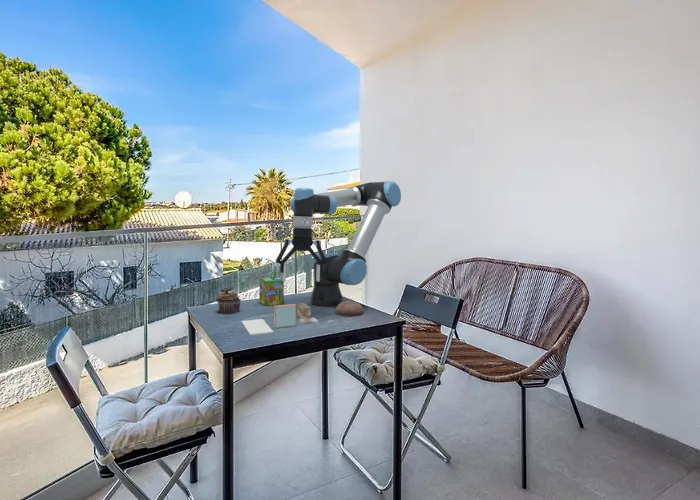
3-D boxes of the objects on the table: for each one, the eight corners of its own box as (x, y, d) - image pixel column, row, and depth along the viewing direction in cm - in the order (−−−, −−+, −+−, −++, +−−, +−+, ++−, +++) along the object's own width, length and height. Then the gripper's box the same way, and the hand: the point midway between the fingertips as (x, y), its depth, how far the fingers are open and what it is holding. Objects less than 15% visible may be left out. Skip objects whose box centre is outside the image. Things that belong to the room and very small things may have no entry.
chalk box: (259, 302, 190) (258, 271, 188) (278, 300, 194) (277, 269, 193) (264, 306, 182) (264, 273, 180) (284, 304, 186) (284, 272, 185)
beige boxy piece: (307, 314, 168) (307, 303, 167) (318, 322, 156) (318, 310, 156) (293, 316, 165) (293, 304, 165) (303, 324, 154) (303, 311, 153)
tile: (295, 324, 153) (294, 304, 152) (296, 326, 152) (296, 305, 151) (274, 327, 150) (273, 305, 149) (275, 328, 148) (274, 306, 148)
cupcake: (239, 314, 169) (239, 290, 168) (215, 314, 167) (215, 290, 166) (242, 308, 178) (241, 286, 177) (219, 309, 177) (218, 286, 176)
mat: (262, 320, 159) (262, 318, 159) (273, 333, 142) (273, 331, 142) (241, 322, 156) (241, 321, 156) (250, 335, 139) (250, 334, 139)
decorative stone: (334, 310, 176) (334, 298, 176) (361, 309, 178) (361, 297, 177) (336, 317, 165) (336, 304, 164) (365, 316, 166) (365, 303, 166)
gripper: (272, 226, 153) (270, 282, 154) (335, 228, 161) (333, 282, 162) (269, 226, 160) (268, 279, 161) (330, 228, 168) (328, 279, 169)
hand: (301, 281), depth 162 cm, fingers open, 13 cm apart
